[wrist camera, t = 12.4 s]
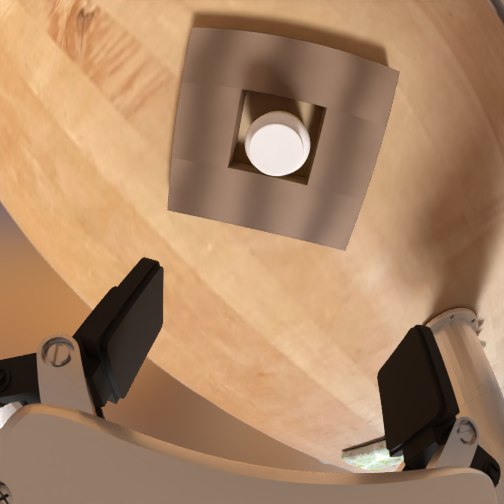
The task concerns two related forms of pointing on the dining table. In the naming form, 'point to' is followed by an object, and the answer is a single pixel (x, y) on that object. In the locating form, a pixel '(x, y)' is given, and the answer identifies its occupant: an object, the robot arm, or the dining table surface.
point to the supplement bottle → (277, 143)
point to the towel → (371, 456)
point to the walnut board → (289, 86)
